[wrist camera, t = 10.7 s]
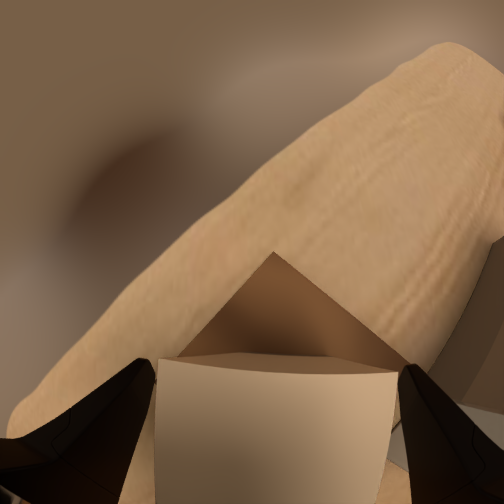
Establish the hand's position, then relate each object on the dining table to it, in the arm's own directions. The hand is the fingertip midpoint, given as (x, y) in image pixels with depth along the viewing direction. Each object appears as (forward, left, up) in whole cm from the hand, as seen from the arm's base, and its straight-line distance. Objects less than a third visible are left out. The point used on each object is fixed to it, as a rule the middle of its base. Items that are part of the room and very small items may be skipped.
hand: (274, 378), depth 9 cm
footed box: (-2, -2, -8) cm, 8 cm away
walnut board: (-1, -1, -9) cm, 9 cm away
